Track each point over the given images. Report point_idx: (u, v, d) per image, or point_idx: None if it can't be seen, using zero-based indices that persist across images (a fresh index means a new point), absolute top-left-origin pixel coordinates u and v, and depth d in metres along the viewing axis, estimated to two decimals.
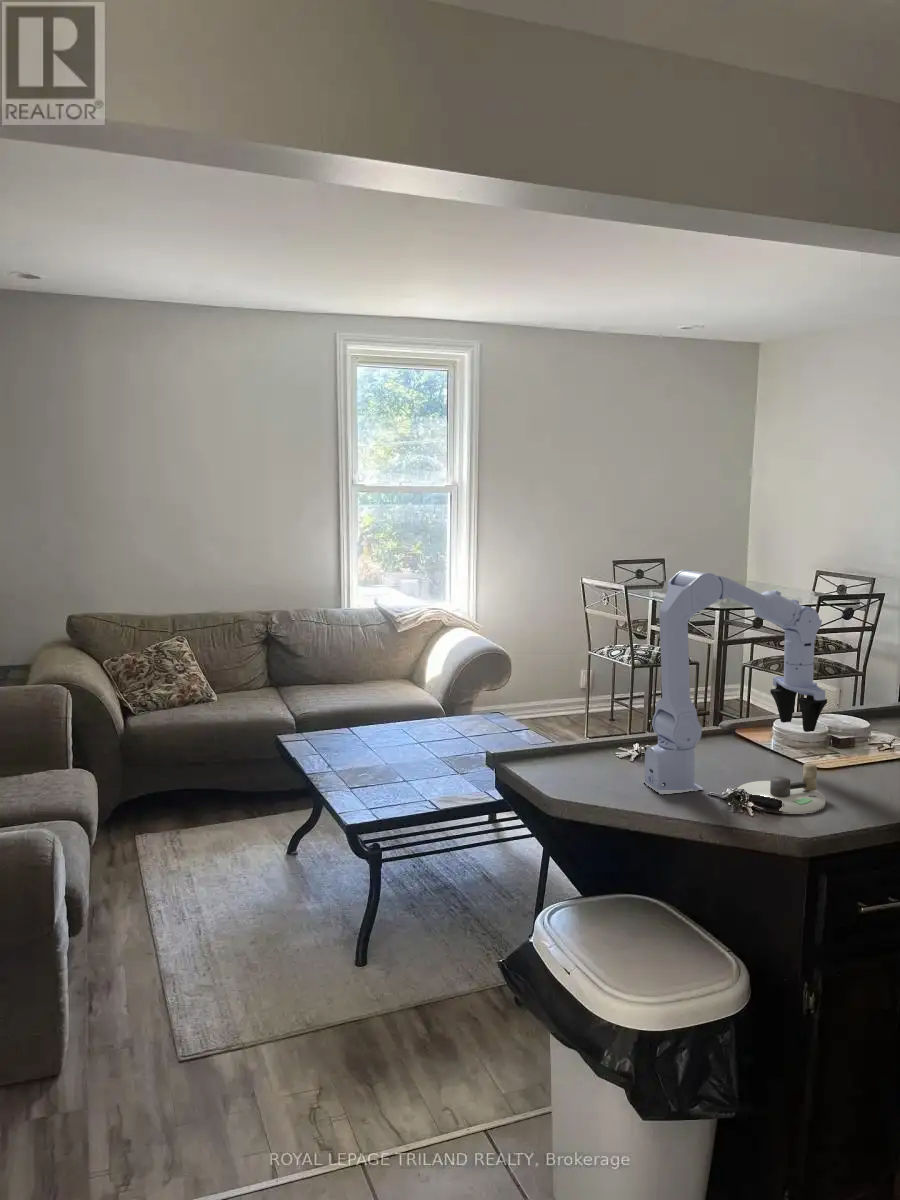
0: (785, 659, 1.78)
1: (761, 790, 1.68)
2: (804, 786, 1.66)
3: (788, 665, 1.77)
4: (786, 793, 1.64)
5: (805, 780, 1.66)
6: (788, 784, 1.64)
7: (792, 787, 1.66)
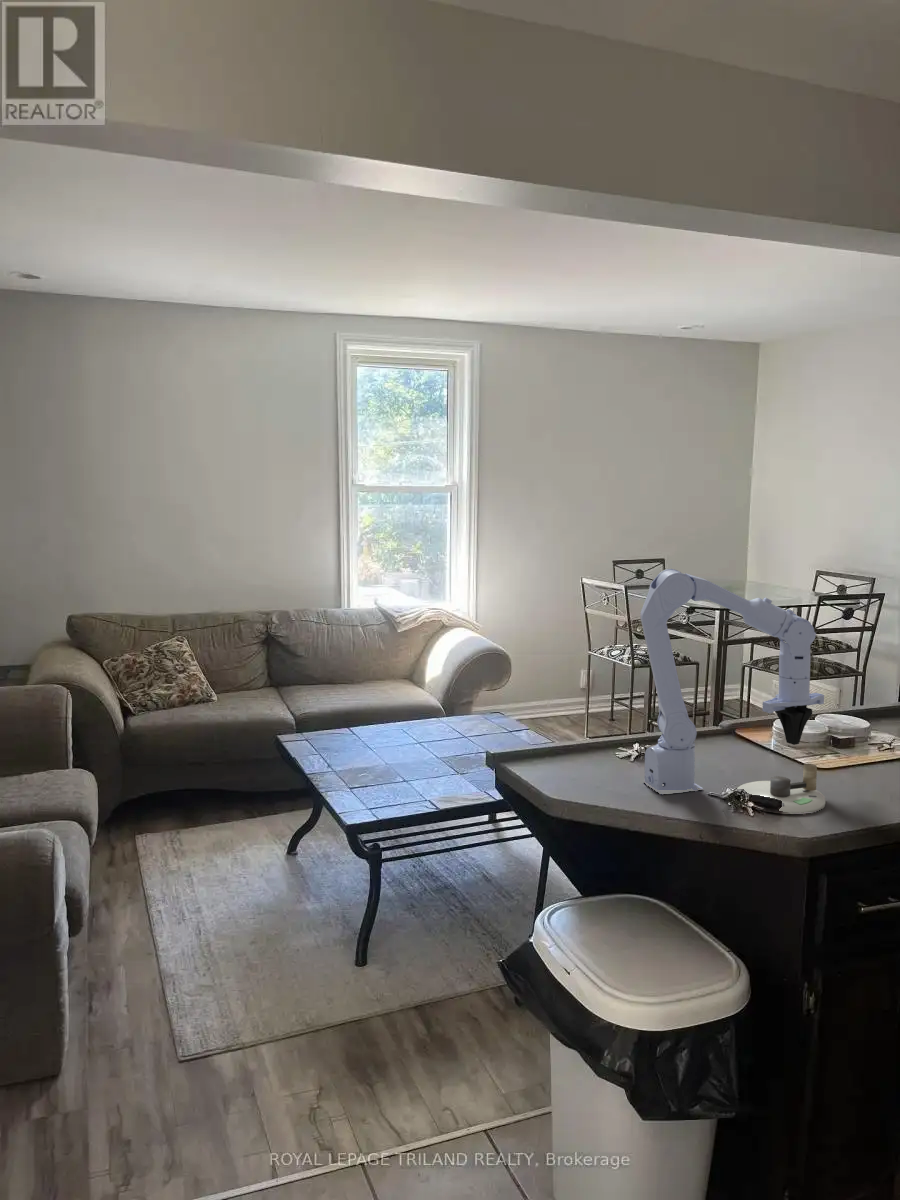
0: (779, 672, 1.71)
1: (761, 790, 1.68)
2: (804, 786, 1.66)
3: (807, 680, 1.68)
4: (786, 793, 1.64)
5: (805, 780, 1.66)
6: (788, 784, 1.64)
7: (792, 787, 1.66)
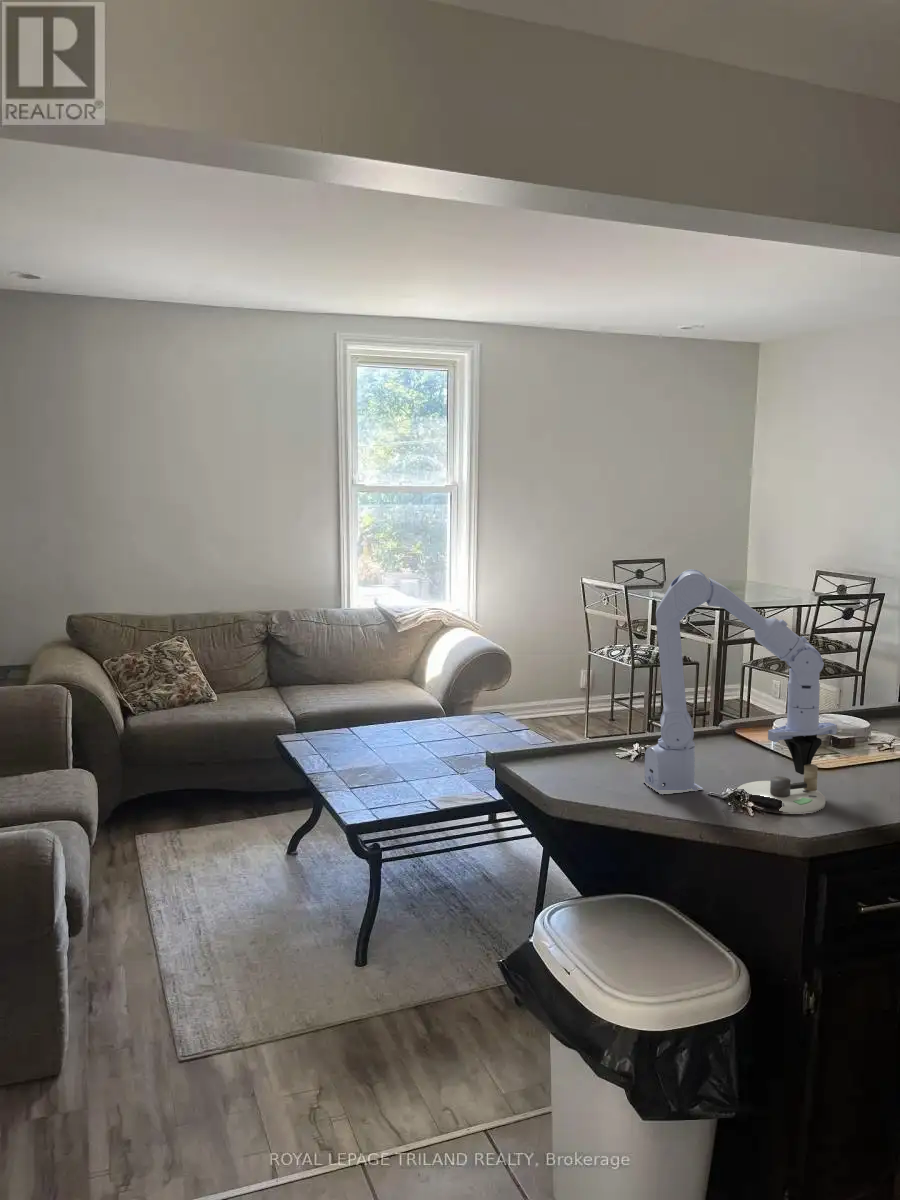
0: None
1: (761, 790, 1.68)
2: (804, 786, 1.66)
3: (815, 709, 1.65)
4: (786, 793, 1.64)
5: (806, 780, 1.66)
6: (788, 784, 1.64)
7: (792, 787, 1.65)
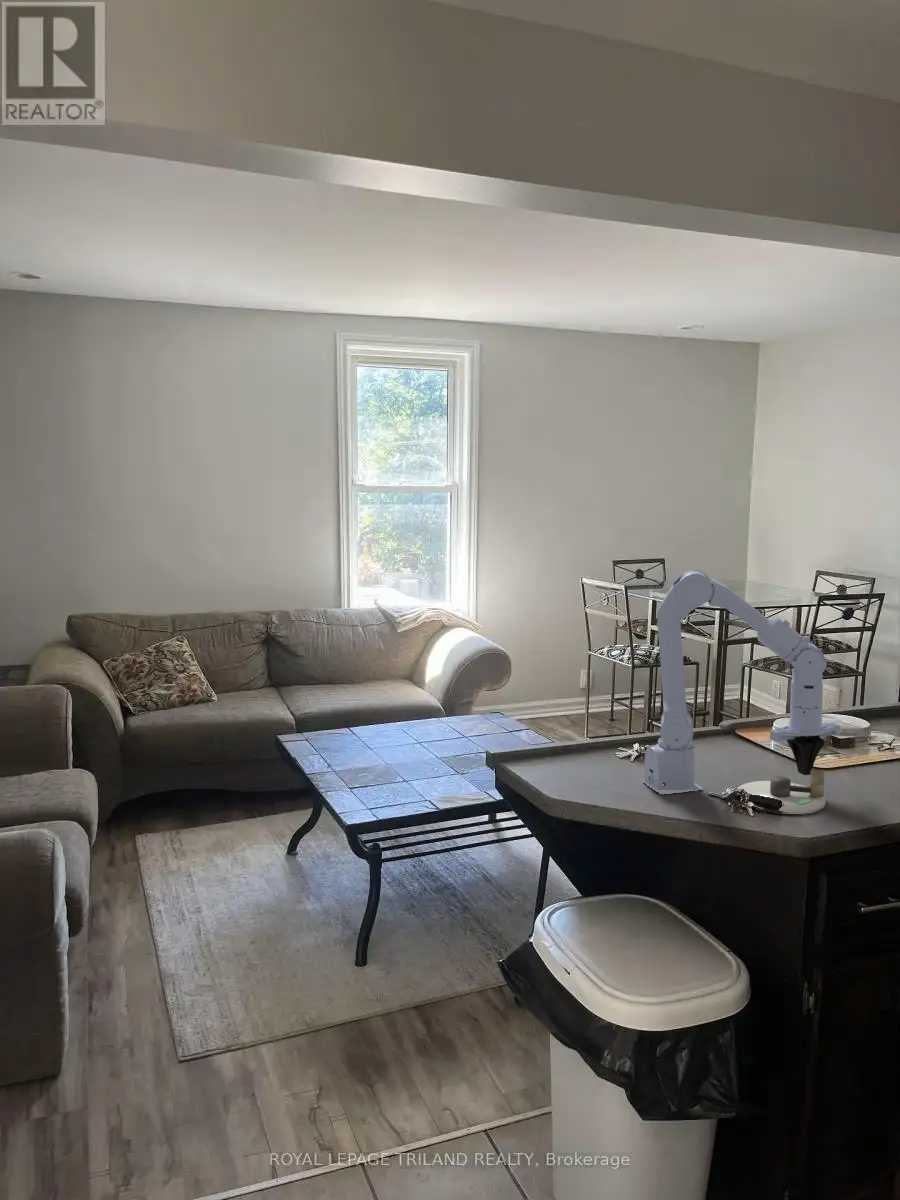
0: (790, 700, 1.68)
1: (761, 790, 1.68)
2: (808, 791, 1.63)
3: (818, 710, 1.64)
4: (781, 793, 1.64)
5: (810, 785, 1.63)
6: (783, 784, 1.64)
7: (793, 789, 1.64)
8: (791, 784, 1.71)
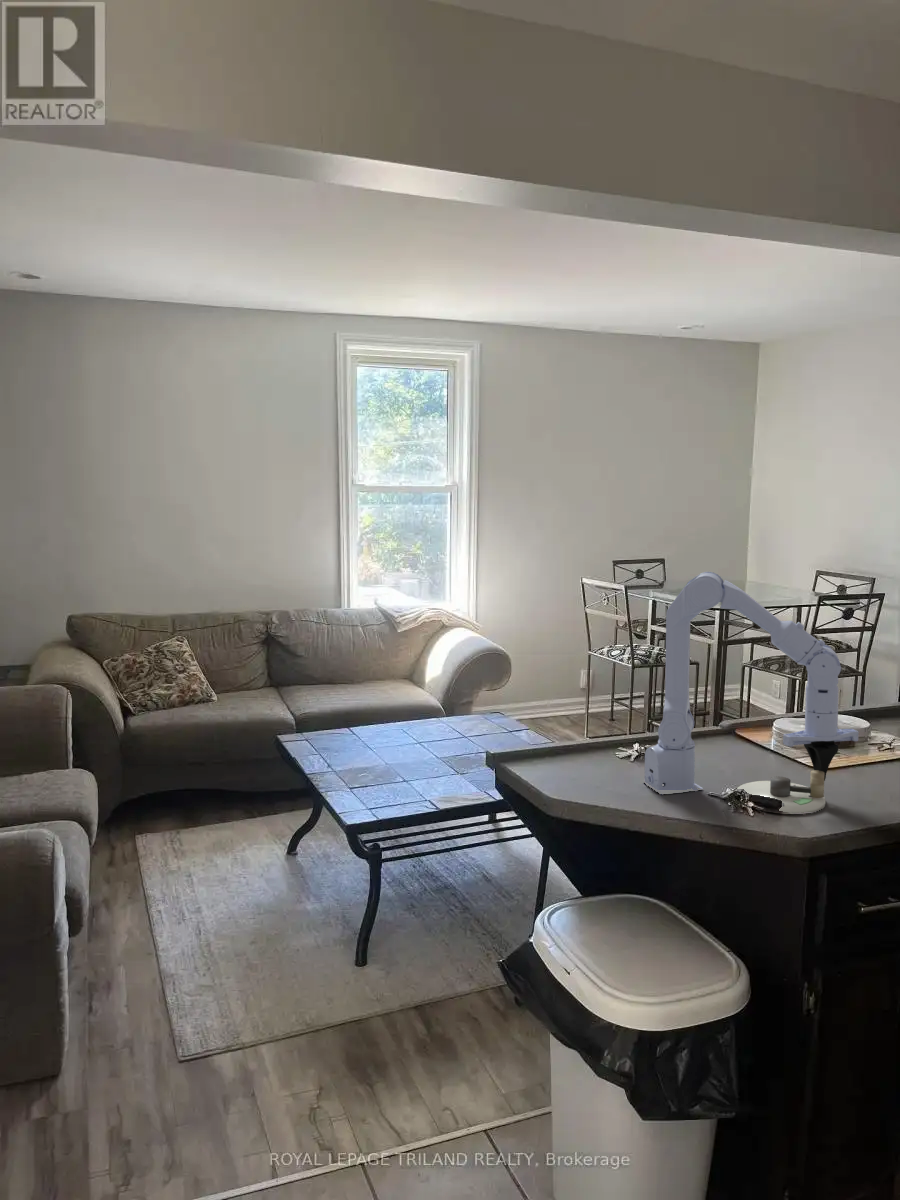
0: None
1: (761, 790, 1.68)
2: (808, 791, 1.63)
3: (832, 715, 1.61)
4: (780, 793, 1.64)
5: (810, 786, 1.63)
6: (783, 784, 1.64)
7: (793, 790, 1.64)
8: (791, 784, 1.71)
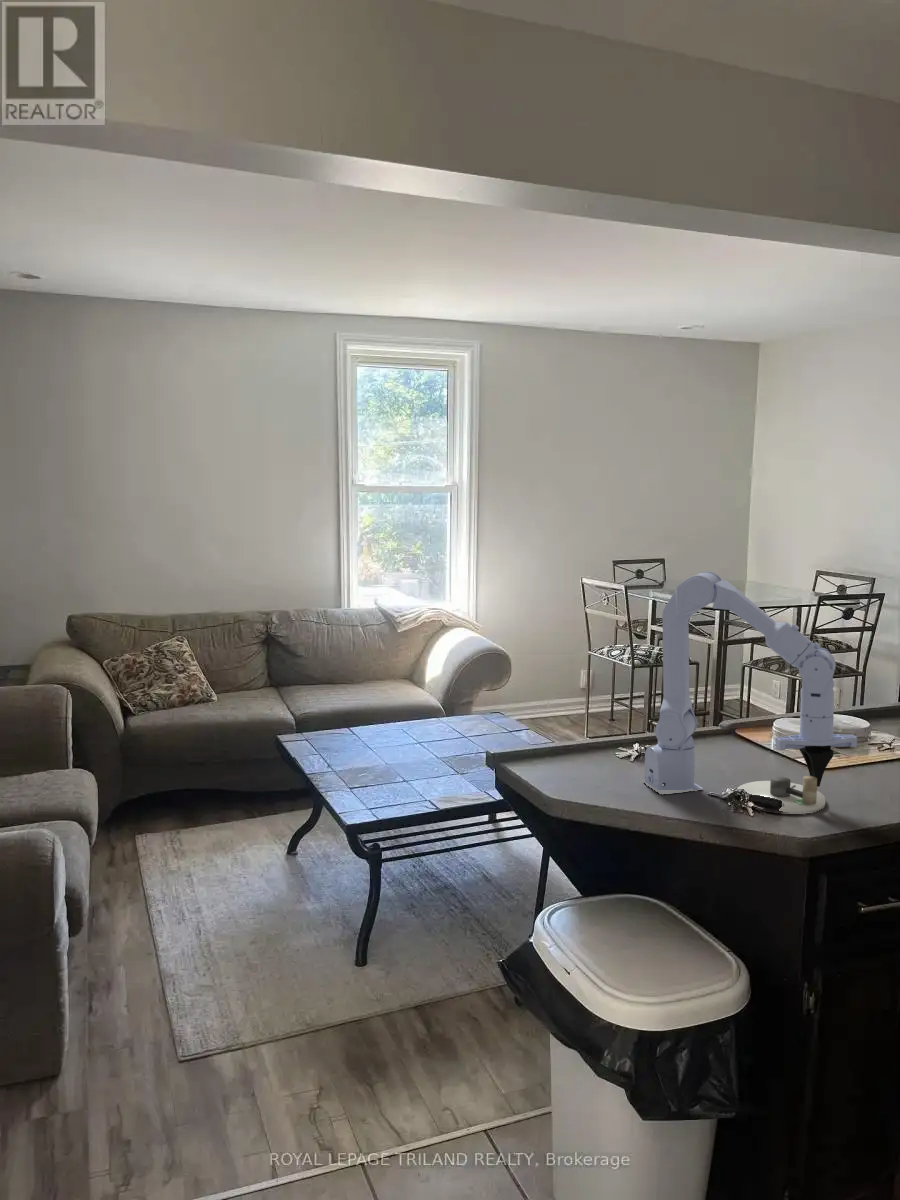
0: None
1: (761, 790, 1.68)
2: (800, 796, 1.61)
3: (826, 719, 1.57)
4: (774, 792, 1.65)
5: None
6: (776, 784, 1.64)
7: (788, 791, 1.63)
8: (791, 784, 1.71)
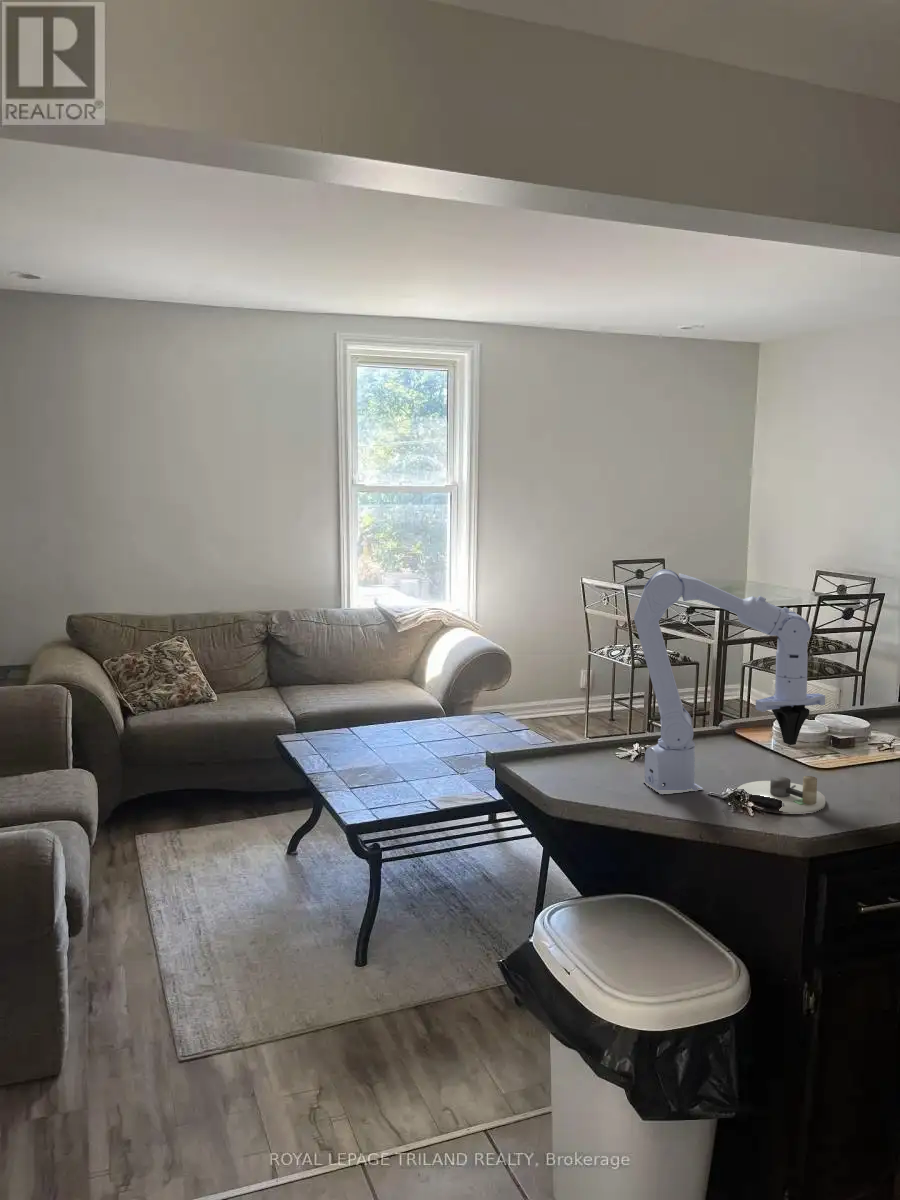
0: None
1: (761, 790, 1.68)
2: (800, 796, 1.61)
3: (803, 679, 1.64)
4: (774, 792, 1.65)
5: None
6: (776, 784, 1.64)
7: (788, 791, 1.63)
8: (791, 784, 1.71)
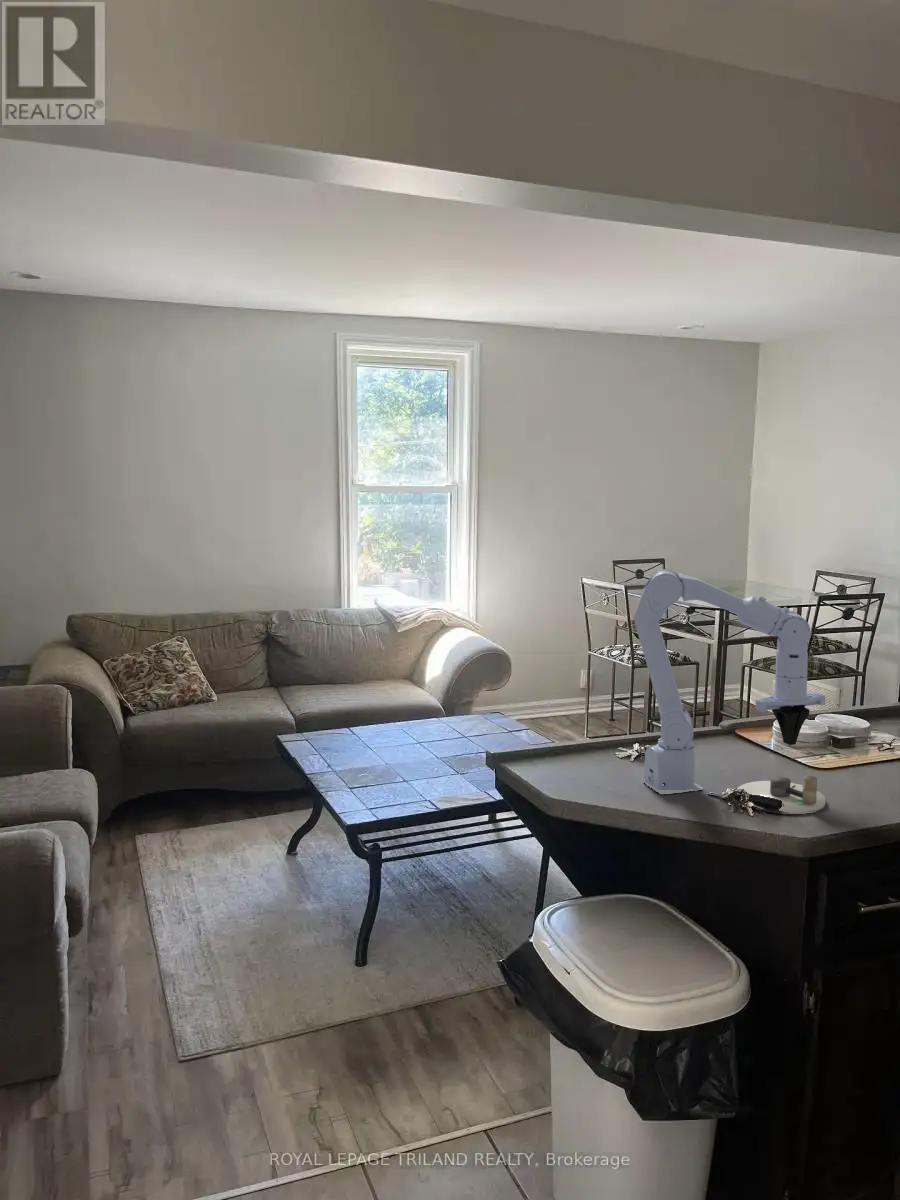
0: None
1: (761, 790, 1.68)
2: (800, 796, 1.61)
3: (803, 679, 1.64)
4: (774, 792, 1.65)
5: None
6: (776, 784, 1.64)
7: (788, 791, 1.63)
8: (791, 784, 1.71)
